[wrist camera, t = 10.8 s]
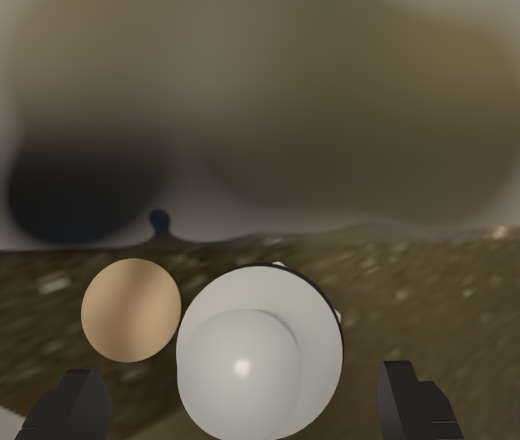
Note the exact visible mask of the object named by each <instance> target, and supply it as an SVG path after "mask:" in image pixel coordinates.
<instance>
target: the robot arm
mask: <svg viewBox="0 0 520 440" xmlns="http://www.w3.org/2000/svg"><path fill="white" fill-rule="evenodd" d="M377 409H378V415H379V420H380V424H381V429H382V433H383V437H384V440H464V439H463V435H462V433H461V430H460V428H459V425H458V424H457V422H456V418H455V415H454V413H453V410H452V408H451V405H450V403H449V400H448V398H447V397H446V396H445V395H444V394H443V393H442V391H441V390H440V389H439V388H438V387H437V386H436V385H435V383H434V382H433V381H424V382H418V380H417V377H416V374H415V371H414V369H413V366H412V364H411V362H410V361H409V360H405V361H381V363H380V370H379V378H378V387H377ZM112 415H113V400H112V397H111V395H110V393H109V391H108V389H107V387H106V384H105V382H104V380H103V378H102V376H101V374H100V372H99V370H98V369H96V368H88V369H70V370H68V371H67V372H66V373H65V374H64V376H63V378H62V380H61V382H60V384H59V386H58V388H57V390H48V391H47V392H46V393H45V394H44V395H43V396H42V397H41V399H40V400H39V401H38V402H37V403H36V404H35V405H34V406H33V407H32V409H31V411H30V412H29V414H28V416H27V418H26V420H25V421H24V423H23V425H22V430H21V431H19V433H18V434H17V436H16V438H15V440H105V437H106V434H107V432H108V429H109V426H110V423H111V420H112Z"/></svg>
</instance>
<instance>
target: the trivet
mask: <svg viewBox="0 0 520 440" xmlns="http://www.w3.org/2000/svg"><path fill="white" fill-rule="evenodd" d="M181 314H182V300H181V295H180V291H179V288H178V286H177V284H176V282H175V280H174V279H173V277H172V276H171V275H170V274H169V273H168V272H167V271H166V270H165V269H164V268H162V267H161V266H159V265H158V264H155V263H153V262H151V261H147V260H144V259H125V260H121V261H118V262H115V263H113V264H111V265H109V266H108V267H106V268H105V269H103V270H102V271H101V272H100V273H99V274H98V275H97V276H96V277H95V278H94V279H93V281H92V282H91V284H90V285H89V287H88V289H87V291H86V293H85V296H84V299H83V303H82V311H81V318H82V325H83V329H84V332H85V334H86V337H87V339H88V340H89V342H90V343H91V345H92V346H93V347H94V348H95V349H96V350H97V351H98V352H99V353H100V354H102V355H103V356H105V357H107V358H109V359H112V360H114V361H119V362H136V361H140V360H144V359H146V358H149V357H151V356H153V355H155V354H156V353H158V352H159V351H161V350H162V349H163V348H164V347H165V346H166V345H167V344H168V343H169V342H170V340H171V339H172V338H173V336H174V334H175V333H176V330H177V328H178V326H179V323H180V319H181Z"/></svg>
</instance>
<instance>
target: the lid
mask: <svg viewBox="0 0 520 440" xmlns="http://www.w3.org/2000/svg"><path fill="white" fill-rule="evenodd" d="M176 357H177V367H178V372H177V380H178V388H179V393H180V397H181V400H182V402H183V405H184V407H185V409H186V411H187V412H188V414H189V415H190V417H191V418H192V419H193V421H194V422H195V423H196V424H197V425H198V426H199V427H200V428H201V429H203V430H204V431H205V432H207V433H208V434H210V435H212V436H214V437H216V438H218V439H221V440H276V439H280V438H284V437H286V436H289V435H291V434H294V433H296V432H298V431H299V430H301V429H303V428H305V427H306V426H307V425H308V424H310V423H311V422H312V421H314V420H315V419H316V418H317V416H318V415H319V414H320V413H321V412H322V411H323V410H324V408H325V407H326V406H327V404H328V403H329V401H330V399H331V398H332V396H333V394H334V392H335V389H336V387H337V384H338V381H339V377H340V373H341V368H342V341H341V335H340V331H339V328H338V324H337V322H336V319H335V317H334V315H333V313H332V311H331V309H330V307H329V306H328V304H327V303H326V301H325V300H324V299H323V297H322V296H321V295H320V294H319V293H318V292H317V291H316V290H315V289H314V288H313V287H312V286H311V285H309V284H308V283H307V282H306V281H304V280H303V279H301V278H299V277H298V276H296V275H294V274H291V273H289V272H287V271H284V270H280V269H277V268H271V267H257V266H255V267H246V268H241V269H237V270H234V271H231V272H229V273H226V274H224V275H222V276H220V277H219V278H217V279H215V280H214V281H213V282H211V283H210V284H208V285H207V286H206V287H205V288H204V289H203V290H202V291H201V292H200V293H199V294H198V295H197V296H196V298H195V299H194V300H193V302H192V303H191V305H190V306H189V308H188V309H187V312H186V314H185V316H184V318H183V320H182V323H181V326H180V329H179V334H178V339H177V349H176Z"/></svg>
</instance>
